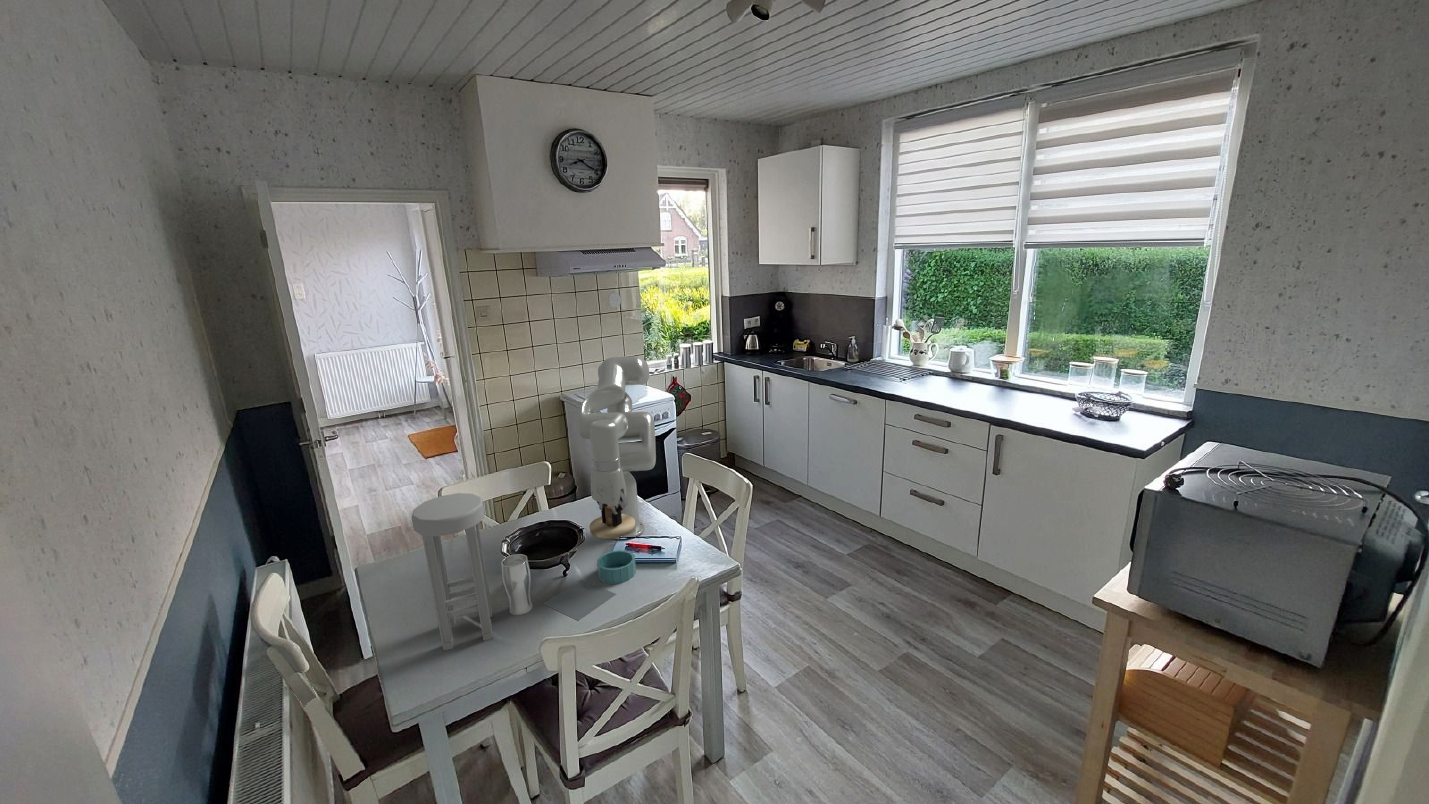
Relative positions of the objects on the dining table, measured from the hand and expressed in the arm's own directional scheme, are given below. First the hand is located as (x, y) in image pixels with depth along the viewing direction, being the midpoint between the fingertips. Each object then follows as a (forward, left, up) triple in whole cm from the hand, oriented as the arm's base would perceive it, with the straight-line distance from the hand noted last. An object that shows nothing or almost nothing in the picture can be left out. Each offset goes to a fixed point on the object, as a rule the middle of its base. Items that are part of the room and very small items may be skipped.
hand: (612, 522), depth 167 cm
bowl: (0, 0, -17) cm, 17 cm away
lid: (0, 0, -2) cm, 2 cm away
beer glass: (-10, -26, -17) cm, 33 cm away
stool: (-14, -40, -17) cm, 45 cm away
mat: (+1, -15, -17) cm, 23 cm away
